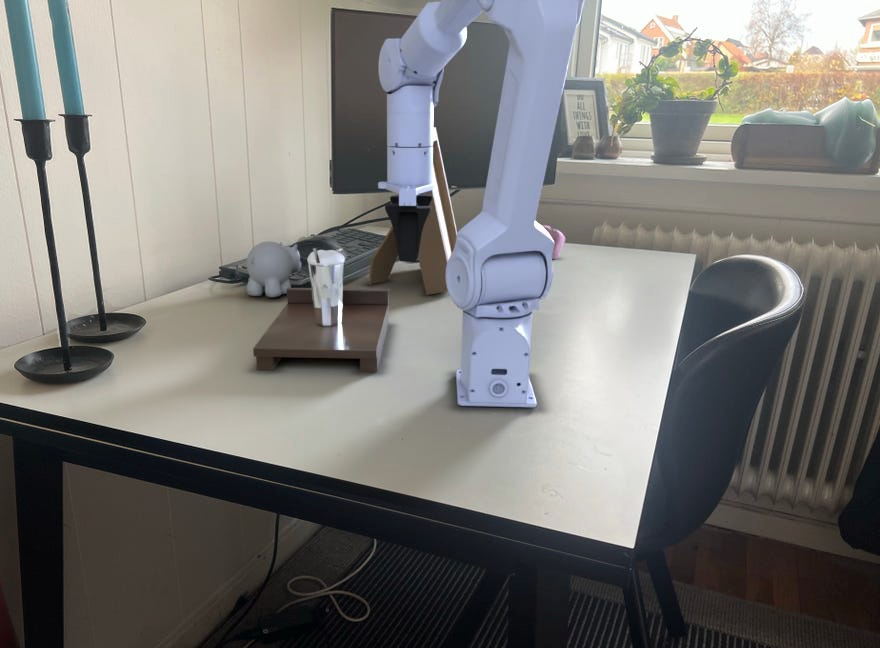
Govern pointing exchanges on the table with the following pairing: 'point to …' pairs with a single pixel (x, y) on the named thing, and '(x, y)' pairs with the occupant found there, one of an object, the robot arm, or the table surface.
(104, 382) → the table surface
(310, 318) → the shelf
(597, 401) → the table surface
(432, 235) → the photo frame
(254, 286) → the round bodied animal figurine
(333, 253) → the milkshake
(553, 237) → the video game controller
